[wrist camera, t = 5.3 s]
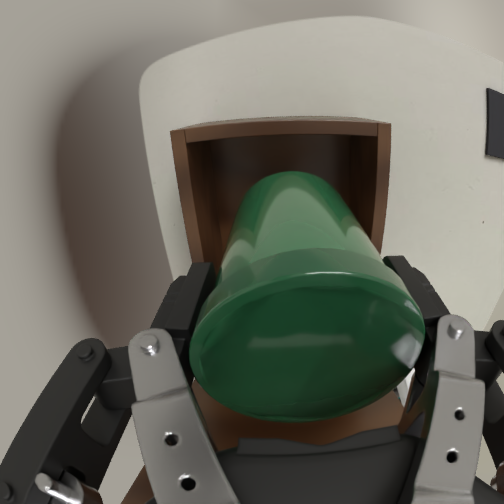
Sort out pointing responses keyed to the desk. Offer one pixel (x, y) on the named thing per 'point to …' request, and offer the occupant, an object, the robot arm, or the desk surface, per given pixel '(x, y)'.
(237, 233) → the green pot
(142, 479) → the lid
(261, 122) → the wooden box
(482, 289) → the desk surface
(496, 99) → the mat
